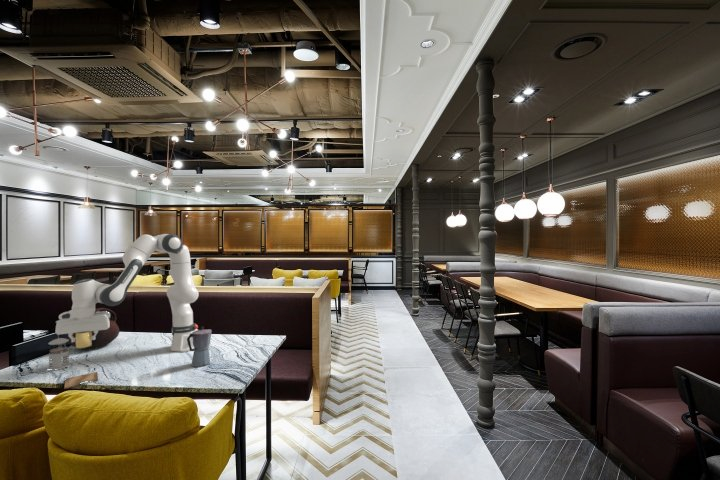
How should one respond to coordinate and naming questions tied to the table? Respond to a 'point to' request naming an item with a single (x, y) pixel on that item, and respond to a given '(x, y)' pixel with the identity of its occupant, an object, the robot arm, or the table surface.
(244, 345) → the table surface
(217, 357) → the table surface
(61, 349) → the french press
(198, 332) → the moka pot
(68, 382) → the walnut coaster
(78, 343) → the ochre cup
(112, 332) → the jug
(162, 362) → the table surface
